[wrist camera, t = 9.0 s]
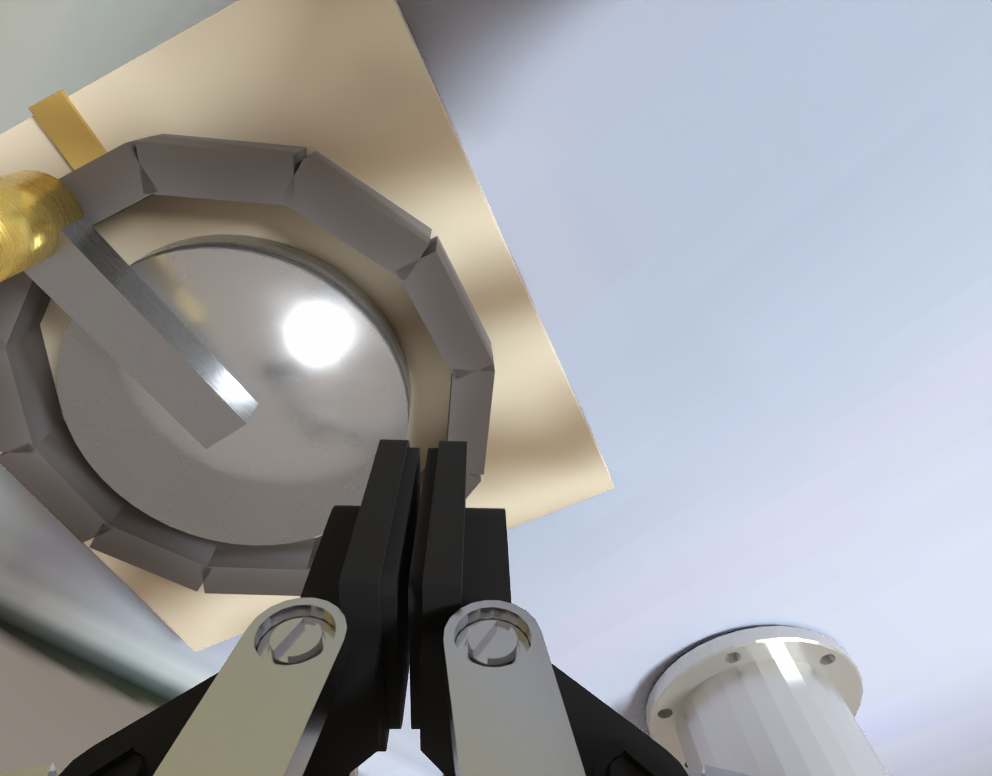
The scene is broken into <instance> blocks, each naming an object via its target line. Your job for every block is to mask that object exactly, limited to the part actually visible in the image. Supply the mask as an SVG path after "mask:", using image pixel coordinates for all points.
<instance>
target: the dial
mask: <svg viewBox="0 0 992 776" xmlns="http://www.w3.org/2000/svg"><path fill="white" fill-rule="evenodd" d="M22 271H24V272H25V273H26V274H27V275H28V276H29V277H30V278H31V279H32V280H33V281H34V282H35V283H36V284H37V285H38V286H39V287H40V288H41V289H42V290H43V291H44V292H45V293H46V294H47V295H48V296H49V297H51V298H52V299H53V300H54V301H55V302H56V303H57V304H58V305H59V306H60V307H61V308H62V309H63V310H64V311H65V312H66V313H67V314H68V315H69V316H70V317H71V318H72V320H71V321H70V323H69V325H68V327H67V329H66V332H65V335H64V338H63V340H62V343H61V346H60V352H59V358H58V364H57V387H58V393H59V399H60V405H61V409H62V412H63V415H64V418H65V421H66V424H67V426H68V429H69V431H70V433H71V435H72V437H73V439H74V441H75V443H76V445H77V446H78V448H79V449H80V451H81V452H82V454H83V456H84V457H85V459H86V460H87V462H88V463H89V464H90V465H91V466H92V468H93V469H94V470H95V471H96V472H97V474H98V475H99V476H100V477H101V478H102V479H103V480H104V481H105V482H106V483H107V484H108V485H109V486H110V487H111V488H112V489H113V490H114V491H115V492H116V493H118V494H119V495H120V496H122V497H123V498H124V499H125V500H127V501H128V502H129V503H131V504H132V505H133V506H135V507H136V508H138V509H139V510H141V511H143V512H144V513H146V514H147V515H149V516H151V517H152V518H154V519H156V520H158V521H160V522H162V523H164V524H166V525H168V526H170V527H173V528H176V529H178V530H181V531H183V532H186V533H188V534H191V535H195V536H198V537H202V538H205V539H209V540H214V541H219V542H224V543H230V544H240V545H278V544H287V543H293V542H298V541H303V540H307V539H311V538H314V537H317V536H320V535H323V532H324V529H325V527H326V524H327V521H328V518H329V515H330V513H331V510H332V508H333V507H334V506H335V505H353V506H361V503H362V499H363V496H364V493H365V489H366V486H367V482H368V479H369V475H370V472H371V469H372V465H373V462H374V458H375V455H376V451H377V448H378V445H379V441H380V440H381V439H387V440H406V438H407V430H408V422H409V414H410V406H411V380H410V374H409V369H408V363H407V360H406V357H405V354H404V351H403V348H402V345H401V343H400V341H399V339H398V337H397V335H396V333H395V331H394V329H393V327H392V325H391V324H390V322H389V321H388V319H387V318H386V316H385V315H384V313H383V312H382V310H381V309H380V308H379V307H378V306H377V304H376V303H375V302H374V301H373V300H372V299H371V297H370V296H369V295H368V294H367V293H366V292H365V291H364V290H363V289H362V288H360V287H359V286H358V285H357V284H356V283H355V282H354V281H353V280H352V279H351V278H349V277H348V276H346V275H345V274H344V273H342V272H341V271H339V270H338V269H337V268H335V267H334V266H332V265H331V264H329V263H327V262H325V261H323V260H322V259H320V258H318V257H316V256H314V255H312V254H311V253H308V252H306V251H303V250H301V249H298V248H296V247H293V246H291V245H288V244H285V243H281V242H277V241H274V240H270V239H266V238H260V237H253V236H247V235H228V234H216V235H207V236H198V237H192V238H188V239H184V240H180V241H176V242H173V243H170V244H168V245H165V246H163V247H160V248H158V249H156V250H153V251H152V252H150V253H148V254H147V255H145V256H143V257H142V258H140V259H138V260H137V261H135V262H133V263H132V264H130V265H128V264H127V263H126V262H125V261H124V260H123V258H122V257H121V256H120V255H119V254H118V253H117V252H116V251H115V250H114V249H113V248H112V247H111V246H110V245H109V243H108V242H107V241H106V240H105V239H104V238H103V237H102V236H101V235H100V234H99V233H98V232H97V231H96V230H95V229H94V227H93V226H92V225H91V224H90V223H89V222H88V221H87V220H86V219H85V217H84V212H83V209H82V206H81V204H80V202H79V200H78V199H77V197H76V196H75V194H74V193H73V192H72V191H71V190H70V189H69V188H68V187H67V186H66V185H65V184H64V183H63V182H61V181H60V180H58V179H57V178H55V177H53V176H51V175H49V174H47V173H44V172H40V171H35V170H23V171H18V172H15V173H11V174H7V175H3V176H0V282H2V281H4V280H6V279H8V278H10V277H12V276H14V275H16V274H18V273H20V272H22Z"/></svg>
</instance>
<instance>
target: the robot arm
mask: <svg viewBox="0 0 992 776" xmlns="http://www.w3.org/2000/svg"><path fill="white" fill-rule="evenodd" d="M466 469H467V441H439V448H428V451H427V458H426V465H425V472H424V478H423V485H422V492H421V482H420V448H415V447H410V443H409V440H387V439H381V440H380V441H379V445H378V448H377V451H376V455H375V458H374V462H373V465H372V469H371V472H370V475H369V479H368V482H367V486H366V489H365V493H364V496H363V499H362V503H361V506H353V505H335V506H334V507H333V508H332V510H331V513H330V515H329V518H328V521H327V524H326V527H325V529H324V532H323V535H322V538H321V540H320V543H319V546H318V549H317V552H316V554H315V557H314V560H313V563H312V565H311V568H310V571H309V574H308V577H307V579H306V582H305V585H304V588H303V590H302V593H301V596H300V598H296V599H291V600H286V601H283V602H281V603H278V604H276V605H274V606H271V607H269V608H268V609H267V610H265V611H264V612H262V613H261V614H260V615H258V616H257V617H256V618H255V619H254V621H253V622H252V623H251V624H250V625H249V626H248V628H247V629H246V631H245V632H244V634H243V635H242V637H241V639H240V640H239V642H238V643H237V645H236V646H235V648H234V650H233V651H232V653H231V654H230V656H229V657H228V659H227V661H226V662H225V664H224V665H223V667H222V668H221V670H220V671H219V673H217V674H215V675H214V676H212V677H210V678H208V679H207V680H205V681H203V682H202V683H200V684H198V685H197V686H195V687H193V688H191V689H190V690H188V691H186V692H185V693H183V694H181V695H179V696H178V697H176V698H174V699H173V700H171V701H169V702H168V703H166V704H164V705H162V706H161V707H159V708H157V709H156V710H154V711H152V712H151V713H149V714H147V715H146V716H144V717H142V718H140V719H139V720H137V721H135V722H133V723H132V724H130V725H128V726H127V727H125V728H123V729H122V730H120V731H118V732H116V733H115V734H113V735H111V736H110V737H108V738H106V739H105V740H103V741H101V742H100V743H98V744H96V745H94V746H93V747H91V748H90V749H88V750H87V751H86V752H84V753H83V754H81V755H80V756H79V757H77V758H76V759H74V760H73V761H72V762H71V763H70V764H69V765H68V766H67V767H66V768H65V769H60V770H56V769H55V767H54V764H53V762H49V763H44V764H39V765H34V766H29V767H23V768H19V769H13V770H8V771H4V772H0V776H358V766H359V765H361V764H362V763H363V762H364V761H366V760H367V759H368V758H369V757H371V756H372V755H373V754H374V753H375V752H377V751H386V749H387V742H388V735H389V729H401V727H402V721H403V714H404V706H405V698H406V689H407V681H408V673H409V665H410V698H411V728H412V729H420V745H421V751H422V752H423V753H424V754H425V755H426V756H427V757H428V758H429V759H430V760H431V761H432V762H433V763H434V764H435V765H436V766H437V767H438V768H439V769H440V771H441V772H442V773H443V776H889V774H888V773H887V771H886V769H885V768H884V766H883V765H882V763H881V761H880V760H879V758H878V756H877V755H876V753H875V751H874V750H873V748H872V746H871V745H870V743H869V741H868V740H867V738H866V736H865V735H864V733H863V731H862V730H861V728H860V726H859V725H858V723H857V721H856V720H855V718H854V717H855V715H856V713H857V711H858V709H859V706H860V704H861V699H862V694H863V686H862V678H861V676H860V673H859V671H858V669H857V667H856V665H855V664H854V662H853V661H852V659H851V658H850V657H849V655H848V654H847V652H846V651H845V649H844V648H842V647H841V646H840V645H839V644H838V643H836V642H835V641H834V640H833V639H831V638H829V637H827V636H825V635H823V634H821V633H818V632H815V631H811V630H807V629H804V628H798V627H788V626H762V627H755V628H749V629H743V630H738V631H735V632H732V633H728V634H725V635H722V636H719V637H716V638H714V639H712V640H710V641H707V642H705V643H703V644H701V645H699V646H697V647H696V648H694V649H692V650H691V651H689V652H688V653H686V654H684V655H683V656H681V657H680V658H679V659H678V660H677V661H676V662H674V663H673V664H672V665H671V666H670V667H669V668H667V670H666V671H665V672H664V673H663V674H662V676H661V677H660V678H659V679H658V681H657V682H656V683H655V685H654V687H653V689H652V691H651V693H650V695H649V697H648V701H647V706H646V723H647V726H648V730H649V733H650V737H651V738H650V737H649V736H648V735H646V734H645V733H644V732H642V731H641V730H640V729H638V728H637V727H636V726H634V725H633V724H632V723H630V722H629V721H628V720H626V719H625V718H624V717H622V716H621V715H620V714H618V713H617V712H616V711H614V710H613V709H612V708H610V707H609V706H608V705H606V704H605V703H604V702H602V701H601V700H600V699H598V698H597V697H596V696H594V695H593V694H592V693H590V692H589V691H588V690H586V689H585V688H584V687H582V686H581V685H580V684H578V683H577V682H576V681H574V680H573V679H572V678H570V677H569V676H568V675H566V674H565V673H564V672H562V671H561V670H560V669H558V668H557V667H556V666H554V665H553V664H551V661H550V658H549V655H548V651H547V648H546V645H545V642H544V638H543V635H542V632H541V629H540V628H539V626H538V624H537V622H536V620H535V619H534V618H533V617H532V616H531V615H530V614H529V613H528V612H527V611H526V610H524V609H522V608H520V607H518V606H517V605H515V604H512V603H511V591H510V575H509V558H508V542H507V525H506V511H505V508H466Z"/></svg>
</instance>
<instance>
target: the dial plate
mask: <svg viewBox="0 0 992 776" xmlns="http://www.w3.org/2000/svg"><path fill="white" fill-rule="evenodd" d="M28 109H29V110H30V111H31V113H32V114H33V115H34V116H32V117H31V118H29V119H27V120H25V121H23V122H22V123H20V124H18V125H16V126H15V127H13V128H11V129H9V130H8V131H6V132H4V133H2V134H0V176H3V175H7V174H11V173H15V172H18V171H23V170H35V171H40V172H44V173H47V174H49V175H51V176H53V177H55V178H57V179H58V180H60V181H61V182H63V183H64V184H65V185H66V186H67V187H68V188H69V189H70V190H71V191H72V192H73V193H74V194H75V196H76V197H77V199H78V200H79V202H80V204H81V206H82V209H83V212H84V217H85V219H86V220H87V221H88V222H89V223H90V224H91V225H92V226H93V227H94V229H95V230H96V231H97V232H98V233H99V234H100V235H101V236H102V237H103V238H104V239H105V240H106V241H107V242H108V243H109V245H110V246H111V247H112V248H113V249H114V250H115V251H116V252H117V253H118V254H119V255H120V256H121V257H122V258H123V260H124V261H125V262H126V263H127V264H128V265H130V264H132V263H133V262H135V261H137V260H138V259H140V258H142V257H143V256H145V255H147V254H148V253H150V252H152V251H153V250H156V249H158V248H160V247H163V246H165V245H168V244H170V243H173V242H176V241H180V240H184V239H188V238H192V237H198V236H207V235H216V234H228V235H247V236H253V237H260V238H266V239H270V240H274V241H277V242H281V243H285V244H288V245H291V246H293V247H296V248H298V249H301V250H303V251H306V252H308V253H311V254H312V255H314V256H316V257H318V258H320V259H322V260H323V261H325V262H327V263H329V264H331V265H332V266H334V267H335V268H337V269H338V270H339V271H341V272H342V273H344V274H345V275H346V276H348V277H349V278H351V279H352V280H353V281H354V282H355V283H356V284H357V285H358V286H359V287H360V288H362V289H363V290H364V291H365V292H366V293H367V294H368V295H369V296H370V297H371V299H372V300H373V301H374V302H375V303H376V304H377V306H378V307H379V308H380V309H381V310H382V312H383V313H384V315H385V316H386V318H387V319H388V321H389V322H390V324H391V325H392V327H393V329H394V331H395V333H396V335H397V337H398V339H399V341H400V343H401V345H402V348H403V351H404V354H405V357H406V360H407V363H408V369H409V374H410V380H411V406H410V414H409V422H408V430H407V438H406V440H409V443H410V447H415V448H420V482H421V492H422V485H423V478H424V472H425V465H426V458H427V451H428V448H439V441H467V469H466V508H505V511H506V525H507V530H508V529H511V528H513V527H516V526H518V525H521V524H524V523H526V522H529V521H531V520H534V519H536V518H539V517H541V516H544V515H547V514H549V513H552V512H554V511H557V510H559V509H562V508H564V507H567V506H570V505H572V504H575V503H577V502H580V501H582V500H585V499H587V498H590V497H593V496H595V495H598V494H600V493H603V492H605V491H608V490H610V489H613V488H615V487H614V484H613V482H612V479H611V476H610V474H609V471H608V468H607V465H606V463H605V460H604V458H603V456H602V454H601V452H600V449H599V447H598V445H597V443H596V440H595V438H594V436H593V434H592V432H591V429H590V427H589V425H588V423H587V421H586V418H585V416H584V414H583V412H582V410H581V407H580V405H579V403H578V401H577V398H576V396H575V394H574V392H573V390H572V387H571V385H570V383H569V381H568V379H567V376H566V374H565V372H564V370H563V368H562V365H561V363H560V361H559V359H558V356H557V354H556V352H555V350H554V348H553V345H552V343H551V341H550V339H549V337H548V334H547V332H546V330H545V328H544V325H543V323H542V321H541V319H540V317H539V314H538V312H537V310H536V308H535V306H534V303H533V301H532V299H531V297H530V295H529V292H528V290H527V288H526V286H525V283H524V281H523V279H522V277H521V275H520V272H519V270H518V268H517V266H516V264H515V261H514V259H513V257H512V255H511V252H510V250H509V248H508V246H507V244H506V241H505V239H504V237H503V235H502V233H501V230H500V228H499V226H498V224H497V222H496V219H495V217H494V215H493V213H492V210H491V208H490V206H489V204H488V202H487V199H486V197H485V195H484V193H483V191H482V188H481V186H480V184H479V182H478V179H477V177H476V175H475V173H474V171H473V168H472V166H471V164H470V162H469V160H468V157H467V155H466V153H465V151H464V149H463V146H462V144H461V142H460V140H459V137H458V135H457V133H456V131H455V129H454V126H453V124H452V122H451V120H450V118H449V115H448V113H447V111H446V109H445V106H444V104H443V102H442V100H441V98H440V95H439V93H438V91H437V89H436V87H435V84H434V82H433V80H432V78H431V76H430V73H429V71H428V69H427V67H426V64H425V62H424V60H423V58H422V56H421V53H420V51H419V49H418V47H417V45H416V42H415V40H414V38H413V36H412V34H411V31H410V29H409V27H408V25H407V22H406V20H405V18H404V16H403V14H402V11H401V9H400V7H399V5H398V3H397V0H238V1H236V2H234V3H233V4H231V5H229V6H227V7H225V8H224V9H222V10H220V11H218V12H217V13H215V14H213V15H211V16H210V17H208V18H206V19H204V20H202V21H201V22H199V23H197V24H195V25H194V26H192V27H190V28H188V29H187V30H185V31H183V32H181V33H179V34H178V35H176V36H174V37H172V38H171V39H169V40H167V41H165V42H163V43H162V44H160V45H158V46H156V47H155V48H153V49H151V50H149V51H148V52H146V53H144V54H142V55H140V56H139V57H137V58H135V59H133V60H132V61H130V62H128V63H126V64H124V65H123V66H121V67H119V68H117V69H116V70H114V71H112V72H110V73H109V74H107V75H105V76H103V77H101V78H100V79H98V80H96V81H94V82H93V83H91V84H89V85H87V86H85V87H84V88H82V89H80V90H78V91H77V92H75V93H73V94H71V95H70V96H67V95H66V93H65V92H64V91H63V90H59V91H58V92H56V93H54V94H52V95H51V96H49V97H47V98H45V99H43V100H42V101H40V102H38V103H36V104H35V105H33V106H31V107H29V108H28ZM71 320H72V318H71V317H70V316H69V315H68V314H67V313H66V312H65V311H64V310H63V309H62V308H61V307H60V306H59V305H58V304H57V303H56V302H55V301H54V300H53V299H52V298H51V297H49V296H48V295H47V294H46V293H45V292H44V291H43V290H42V289H41V288H40V287H39V286H38V285H37V284H36V283H35V282H34V281H33V280H32V279H31V278H30V277H29V276H28V275H27V274H26V273H25V272H24V271H22V272H20V273H18V274H16V275H14V276H12V277H10V278H8V279H6V280H4V281H2V282H0V463H1V464H2V465H3V466H4V467H5V468H6V469H7V470H8V471H9V472H10V473H11V474H12V475H13V476H14V477H15V478H16V479H17V480H18V481H20V482H21V483H22V484H23V485H24V486H25V487H26V488H27V489H28V490H29V491H30V492H31V493H32V494H33V495H34V496H35V497H36V498H37V499H38V500H39V501H40V502H41V503H42V504H43V505H44V506H45V507H46V508H47V509H48V510H49V511H50V512H51V513H52V514H53V515H54V516H55V517H56V518H57V519H58V520H59V521H60V522H61V523H62V524H63V525H64V526H65V527H66V528H67V529H69V530H70V531H71V532H72V533H73V534H74V535H75V536H76V537H77V538H78V539H79V540H80V541H81V542H82V543H83V542H84V543H85V544H86V545H87V546H88V547H89V548H90V549H91V550H92V551H93V552H94V553H95V554H96V555H97V556H98V557H99V558H100V559H101V560H102V561H103V562H104V563H105V564H106V565H107V566H108V567H109V568H110V569H111V570H112V571H113V572H114V573H115V574H116V575H117V576H118V577H119V578H120V579H121V580H122V581H123V582H124V583H125V584H126V585H127V586H128V587H129V588H130V589H131V590H132V591H133V592H135V593H136V594H137V595H138V596H139V597H140V598H141V599H142V600H143V601H144V602H145V603H146V604H147V605H148V606H149V607H150V608H151V609H152V610H153V611H154V612H155V613H156V614H157V615H158V616H159V617H160V618H161V619H162V620H163V621H164V622H165V623H166V624H167V625H168V626H169V627H170V628H171V629H172V630H173V631H174V632H175V633H176V634H177V635H178V636H179V637H180V638H181V639H182V640H183V641H184V642H185V643H186V644H188V645H189V646H190V647H191V648H192V649H193V650H194V651H195V652H197V651H199V650H202V649H204V648H207V647H210V646H212V645H215V644H217V643H220V642H222V641H225V640H227V639H230V638H233V637H235V636H238V635H240V634H243V633H244V632H245V631H246V629H247V628H248V626H249V625H250V624H251V623H252V622H253V621H254V619H255V618H256V617H257V616H258V615H260V614H261V613H262V612H264V611H265V610H267V609H268V608H269V607H271V606H274V605H276V604H278V603H281V602H283V601H286V600H291V599H296V598H300V596H301V593H302V590H303V588H304V585H305V582H306V579H307V577H308V574H309V571H310V568H311V565H312V563H313V560H314V557H315V554H316V552H317V549H318V546H319V543H320V540H321V538H322V535H320V536H317V537H314V538H311V539H307V540H303V541H298V542H293V543H287V544H278V545H240V544H230V543H224V542H219V541H214V540H209V539H205V538H202V537H198V536H195V535H191V534H188V533H186V532H183V531H181V530H178V529H176V528H173V527H170V526H168V525H166V524H164V523H162V522H160V521H158V520H156V519H154V518H152V517H151V516H149V515H147V514H146V513H144V512H143V511H141V510H139V509H138V508H136V507H135V506H133V505H132V504H131V503H129V502H128V501H127V500H125V499H124V498H123V497H122V496H120V495H119V494H118V493H116V492H115V491H114V490H113V489H112V488H111V487H110V486H109V485H108V484H107V483H106V482H105V481H104V480H103V479H102V478H101V477H100V476H99V475H98V474H97V472H96V471H95V470H94V469H93V468H92V466H91V465H90V464H89V463H88V462H87V460H86V459H85V457H84V456H83V454H82V452H81V451H80V449H79V448H78V446H77V445H76V443H75V441H74V439H73V437H72V435H71V433H70V431H69V429H68V426H67V424H66V421H65V418H64V415H63V412H62V409H61V405H60V399H59V393H58V387H57V364H58V358H59V352H60V346H61V343H62V340H63V338H64V335H65V332H66V329H67V327H68V325H69V323H70V321H71Z"/></svg>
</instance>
